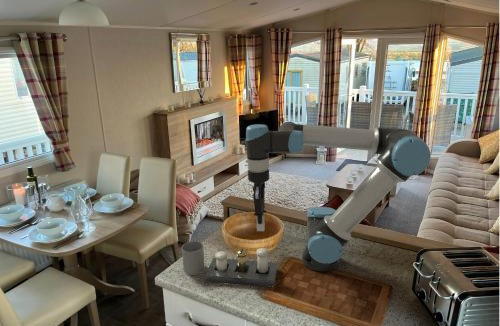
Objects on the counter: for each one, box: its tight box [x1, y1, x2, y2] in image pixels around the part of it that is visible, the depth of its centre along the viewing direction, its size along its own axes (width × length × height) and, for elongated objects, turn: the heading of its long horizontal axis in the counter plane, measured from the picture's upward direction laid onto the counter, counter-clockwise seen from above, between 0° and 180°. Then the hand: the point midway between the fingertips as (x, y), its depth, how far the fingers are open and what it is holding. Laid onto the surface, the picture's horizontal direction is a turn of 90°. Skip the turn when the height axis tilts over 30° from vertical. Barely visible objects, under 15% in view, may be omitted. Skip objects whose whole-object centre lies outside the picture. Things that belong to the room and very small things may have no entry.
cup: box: [181, 240, 206, 276], centre depth 147 cm, size 8×8×10 cm
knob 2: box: [255, 247, 270, 274], centre depth 140 cm, size 5×5×8 cm
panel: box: [204, 257, 278, 288], centre depth 143 cm, size 26×12×3 cm, turn 81°
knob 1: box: [214, 251, 228, 271], centre depth 143 cm, size 5×5×8 cm
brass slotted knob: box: [235, 248, 248, 271], centre depth 141 cm, size 4×4×8 cm
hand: (260, 230), depth 136 cm, fingers closed
